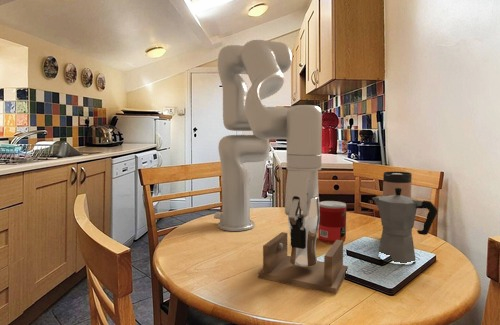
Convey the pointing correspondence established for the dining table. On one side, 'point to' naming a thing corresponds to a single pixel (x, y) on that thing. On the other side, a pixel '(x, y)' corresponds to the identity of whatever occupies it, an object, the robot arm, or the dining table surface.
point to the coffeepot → (401, 224)
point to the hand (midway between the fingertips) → (303, 241)
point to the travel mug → (397, 183)
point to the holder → (316, 277)
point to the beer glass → (307, 237)
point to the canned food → (332, 221)
